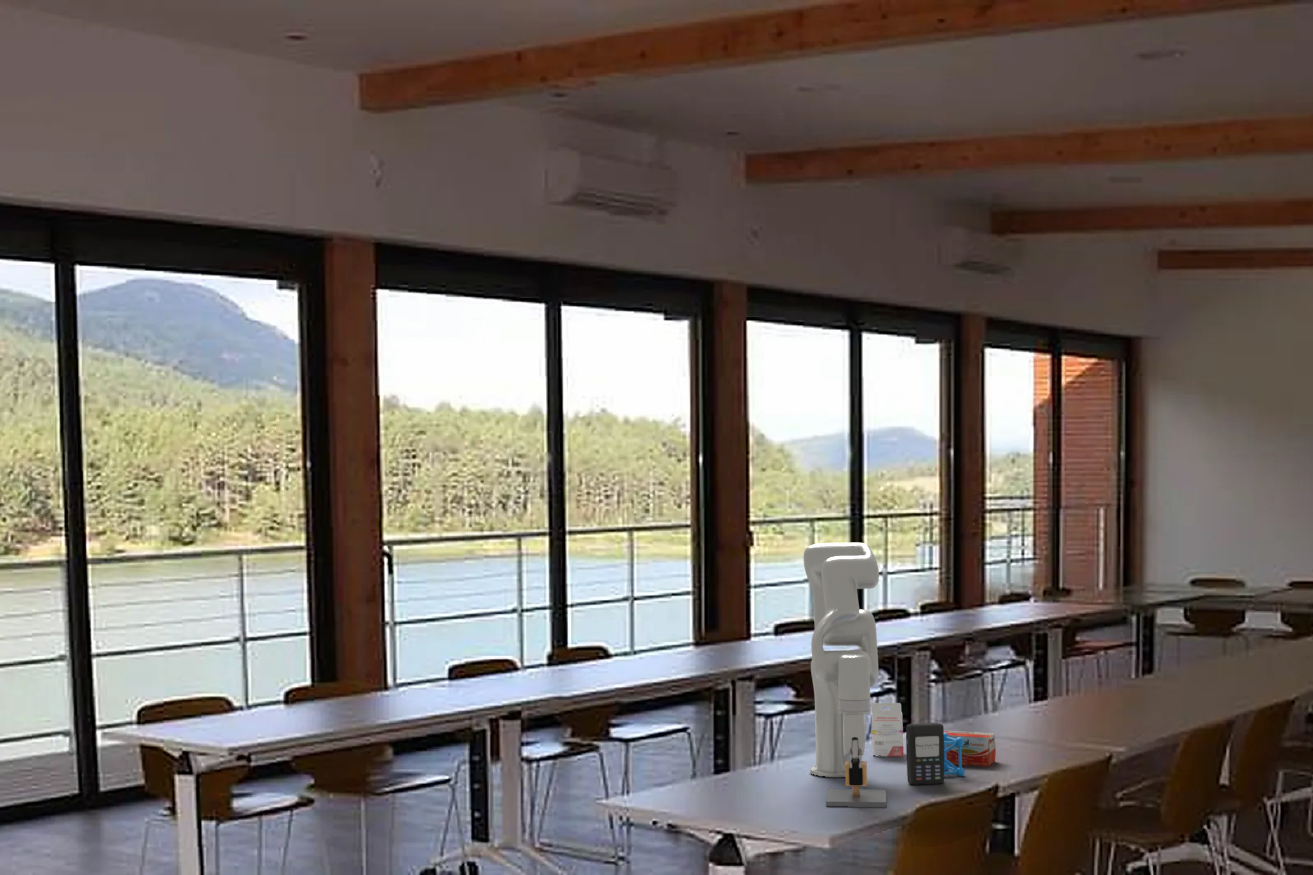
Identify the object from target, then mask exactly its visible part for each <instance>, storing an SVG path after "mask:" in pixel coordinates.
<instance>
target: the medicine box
mask: <svg viewBox="0 0 1313 875" xmlns="http://www.w3.org/2000/svg"><path fill="white" fill-rule="evenodd" d="M944 733H947V734H948V735H949V737H950V738H954V739H956V738H958V737H961V738H963V739H964V745H963V746H961V759H962V766H968V767H969V766H970V767H985V768H989V767H991V765H993V763H996V753H997V752H996V751H997V750H996V747H997V746H996V737H995V733H994V732H993V733H992V732H977V731H956V730H944ZM948 741H951V740H948ZM952 745H953V744H946V749H947V748H949V747H950V746H952ZM946 759H947V760H948V761H949V762H951V763H952V764H953V765H955V766H959V753H958V746H955V747H954V748H952V749H951V750H949V751H948V752H946Z"/></svg>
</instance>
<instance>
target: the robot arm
mask: <svg viewBox="0 0 1313 875" xmlns="http://www.w3.org/2000/svg"><path fill="white" fill-rule="evenodd" d="M803 567H804V571H805V574H806V578H807V580H808V582H809V585H810V588H811V592H812V596H813V620H814V631H813V633H812V637H811V643H810V644H811V646H810V647H811V661H810V673H811V679H812V686H813V693H814V694H813V695H814V714H815V715H814V719H815V721H814V722H815V723H814V724H815V726H814V730H815V764H816V765H814V766H811V768H810V769H809V770H810V771H809V772H810V774H811V775H813V774H814V775H813V776H816V775H818V776H817V777H822V776H825V777H824V778H846V776H845V762H846V761H850V768H849V784H850V785H863V768H861V761H863V760H862V758H863V757H862V756H864V755H865V750H866V749H865V748H866V735H867V733H866V732H867V730H866V729H867V728H866V725H867V724H866V722H867V721H866V714H867V715H868V714H870V713H871V688H872V687H874V686H876V684H877V683H878V678H879V658H878V657H879V655H878V654H879V653H878V638H877V626H876V620H875V617H874V615H873V614H872V613H871V612H870V611H869V610H867V609H861V608H860V605H859V598H858V590H861V589H864V590H865V589H867V590H868V589H871V590H872V589H874V588H876V587H877V586H878V584H879V580H880V569H879V565H878V562H877V559H876V556H875V555H874V553H873V551H872V549H871V547H870V545H869V544H867V543H864V542H820V543H814V544H811V545H809V546H807V547H806V548H805V549H804V552H803ZM824 646H826V647H857V648H858V649H856V650H855V649H854V650H853V649H852V650H851V649H850V650H847V649H845V650H842V649H841V650H839V649H838V650H825V649H824Z"/></svg>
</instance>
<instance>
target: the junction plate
mask: <svg viewBox="0 0 1313 875" xmlns="http://www.w3.org/2000/svg"><path fill="white" fill-rule="evenodd" d="M851 787H852V788H849V789H837V788H834V789H832V788H828V789H827V792H826V800H825V807H826V806H848V807H847V808H887V792H886V790H887V789H861V786H851Z"/></svg>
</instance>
